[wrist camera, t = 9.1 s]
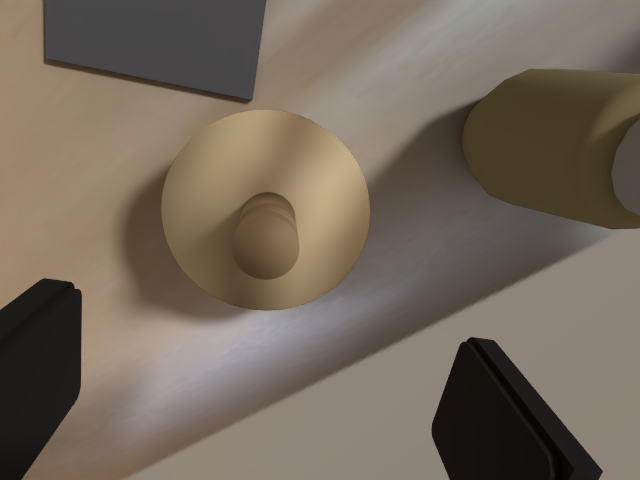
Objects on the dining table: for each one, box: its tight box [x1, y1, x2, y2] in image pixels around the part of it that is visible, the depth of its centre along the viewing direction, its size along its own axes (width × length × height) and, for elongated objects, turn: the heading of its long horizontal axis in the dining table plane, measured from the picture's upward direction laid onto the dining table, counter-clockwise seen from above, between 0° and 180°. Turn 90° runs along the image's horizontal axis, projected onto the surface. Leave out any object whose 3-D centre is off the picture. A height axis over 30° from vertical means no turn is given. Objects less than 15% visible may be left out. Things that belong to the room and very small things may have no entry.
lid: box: [161, 110, 370, 311], centre depth 21 cm, size 12×12×6 cm
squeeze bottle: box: [461, 69, 640, 229], centre depth 20 cm, size 8×8×18 cm
